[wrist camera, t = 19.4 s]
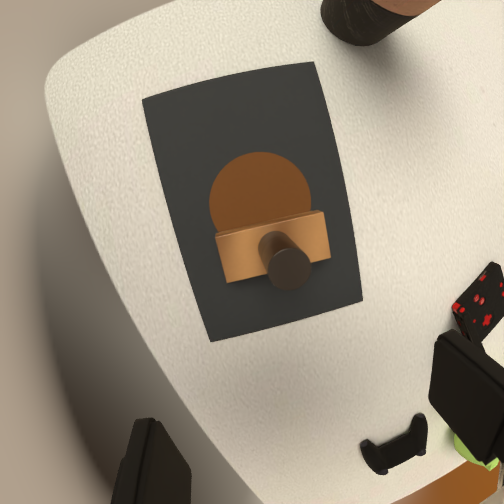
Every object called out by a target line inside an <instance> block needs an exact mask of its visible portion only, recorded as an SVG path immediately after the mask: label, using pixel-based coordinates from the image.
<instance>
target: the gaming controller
mask: <svg viewBox="0 0 504 504" xmlns="http://www.w3.org/2000/svg"><path fill="white" fill-rule="evenodd" d="M427 434H428V424H427V420H426V417H425V415H424V414H423V413H420V414H417V415H416V416H415V417H414V418H413V421H412V425H411V429H410V432H409V433H408V434H404V435H402V436H401V437H400V438H398V439H396V440H394V441H392V442H390V443H388V444H384V445H382V446H381V447H380V448H378V447H376V446H375V445H374V444H373V443H372V442H371V441H369V440H366V441H363V442H361V444H360V448H361V452H362V455H363V457H364V460H365V462H366V463H367V465H368V466H369V467H370V468H371V469H372V470H373V471H374V472H375V473H376V474H379V475H386V474H387V473H388V469H390V468H393V467H395V466H397V465H399V464H401V463H403V462H405V461H407V460H409V459H410V458H412V457H414V456H415V455H417V456H423V455H425V454H426V450H425V449H426V444H427Z"/></svg>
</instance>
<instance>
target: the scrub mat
mask: <svg viewBox="0 0 504 504" xmlns="http://www.w3.org/2000/svg"><path fill="white" fill-rule="evenodd" d="M142 104H143V108H144V113H145V117H146V122H147V126H148V131H149V135H150V139H151V144H152V148H153V152H154V156H155V160H156V164H157V168H158V172H159V176H160V180H161V184H162V187H163V191H164V195H165V199H166V202H167V206H168V210H169V213H170V217H171V220H172V224H173V227H174V231H175V234H176V238H177V241H178V244H179V248H180V251H181V254H182V258H183V261H184V264H185V267H186V270H187V274H188V277H189V280H190V283H191V286H192V289H193V292H194V295H195V298H196V301H197V304H198V307H199V310H200V313H201V316H202V319H203V322H204V325H205V328H206V331H207V334H208V337H209V339H210V342H214V341H218V340H223V339H227V338H231V337H235V336H240V335H244V334H248V333H252V332H256V331H260V330H264V329H267V328H271V327H275V326H279V325H283V324H286V323H290V322H293V321H297V320H301V319H304V318H308V317H311V316H315V315H318V314H321V313H325V312H328V311H331V310H335V309H338V308H341V307H344V306H348V305H351V304H354V303H357V302H360V301H363V297H362V288H361V280H360V272H359V264H358V257H357V250H356V244H355V237H354V231H353V225H352V219H351V213H350V208H349V202H348V197H347V192H346V186H345V181H344V177H343V172H342V167H341V163H340V158H339V154H338V149H337V145H336V141H335V136H334V132H333V128H332V124H331V120H330V116H329V113H328V109H327V105H326V101H325V98H324V94H323V91H322V87H321V84H320V80H319V77H318V74H317V70H316V67H315V64H314V62H305V63H297V64H289V65H282V66H275V67H269V68H263V69H257V70H252V71H247V72H242V73H237V74H232V75H227V76H223V77H218V78H214V79H210V80H206V81H202V82H198V83H194V84H191V85H187V86H183V87H180V88H176V89H173V90H170V91H166V92H163V93H160V94H157V95H154V96H151V97H148V98H145V99H142ZM315 210H319V211H322V212H323V213H324V218H325V224H326V230H327V236H328V242H329V248H330V255H331V258H328V259H324V260H320V261H316V262H312V263H311V273H310V276H309V278H308V280H307V281H306V283H305V284H304V285H302V286H301V287H299V288H297V289H294V290H282V289H279V288H277V287H276V286H275V285H273V283H272V282H271V281H270V279H269V277H268V274H263V275H259V276H255V277H251V278H247V279H243V280H238V281H234V282H230V283H227V282H226V278H225V274H224V270H223V267H222V263H221V259H220V255H219V251H218V247H217V243H216V240H215V235H216V233H219V232H223V231H227V230H232V229H236V228H240V227H244V226H248V225H253V224H257V223H261V222H265V221H270V220H274V219H278V218H283V217H287V216H292V215H296V214H300V213H305V212H309V211H315Z"/></svg>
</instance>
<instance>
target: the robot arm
mask: <svg viewBox="0 0 504 504" xmlns="http://www.w3.org/2000/svg"><path fill="white" fill-rule="evenodd" d="M428 398H429V401H430V403H431V405H432V406H433V407H434V409H435V410H436V411H437V412H438V413H439V415H440V416H441V417H442V418H443V419H444V421H445V422H446V423H447V424H448V425H449V427H450V428H451V429H452V430H453V432H454V433H455V434H456V435H457V437H458V438H459V439H460V440H461V441H462V443H463V444H464V445H465V446H466V448H467V449H468V450H469V451H470V453H471V454H472V455H473V456H474V458H475V459H476V460H477V461H479V462H481V461H482V462H483V463H484V465H485V466H486V465H488V464H489V463H490V462H492V461H493V460H494V459H496V458H498V459H499V460H500V462H501V464H500V473H499V481H498V487H497V491H496V492H495V493H494V494H492V495H491V496H490V497H488V498H487V499H486V500H484V501H483V502H481V503H480V504H504V368H503V367H502V366H501V365H500V364H498V363H497V362H496V361H495V360H493V359H492V358H491V357H490V356H488V355H487V354H486V353H485V352H483V351H482V350H481V349H480V348H478V347H477V346H476V345H474V344H473V343H472V342H471V341H469V340H468V339H467V338H465V337H464V336H463V335H461V334H460V333H459V332H458V331H456V330H454V329H451V330H449V331H447V332H445V333H443V334H441V335H439V336H438V338H437V341H436V342H435V344H434V355H433V365H432V373H431V381H430V388H429V395H428ZM191 477H192V476H191V469H190V467H189V465H188V464H187V462H186V461H185V459H184V458H183V456H182V455H181V453H180V452H179V450H178V449H177V447H176V446H175V444H174V443H173V441H172V440H171V438H170V436H169V435H168V433H167V431H166V430H165V428H164V427H163V425H162V423H161V422H160V421H156V420H155V419H154V418H143V419H136V420H135V422H134V425H133V429H132V433H131V436H130V440H129V444H128V448H127V452H126V456H125V457H124V458H123V459H122V460H121V463H120V467H119V470H118V474H117V479H116V483H115V487H114V491H113V495H112V500H111V504H190V503H191Z"/></svg>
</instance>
